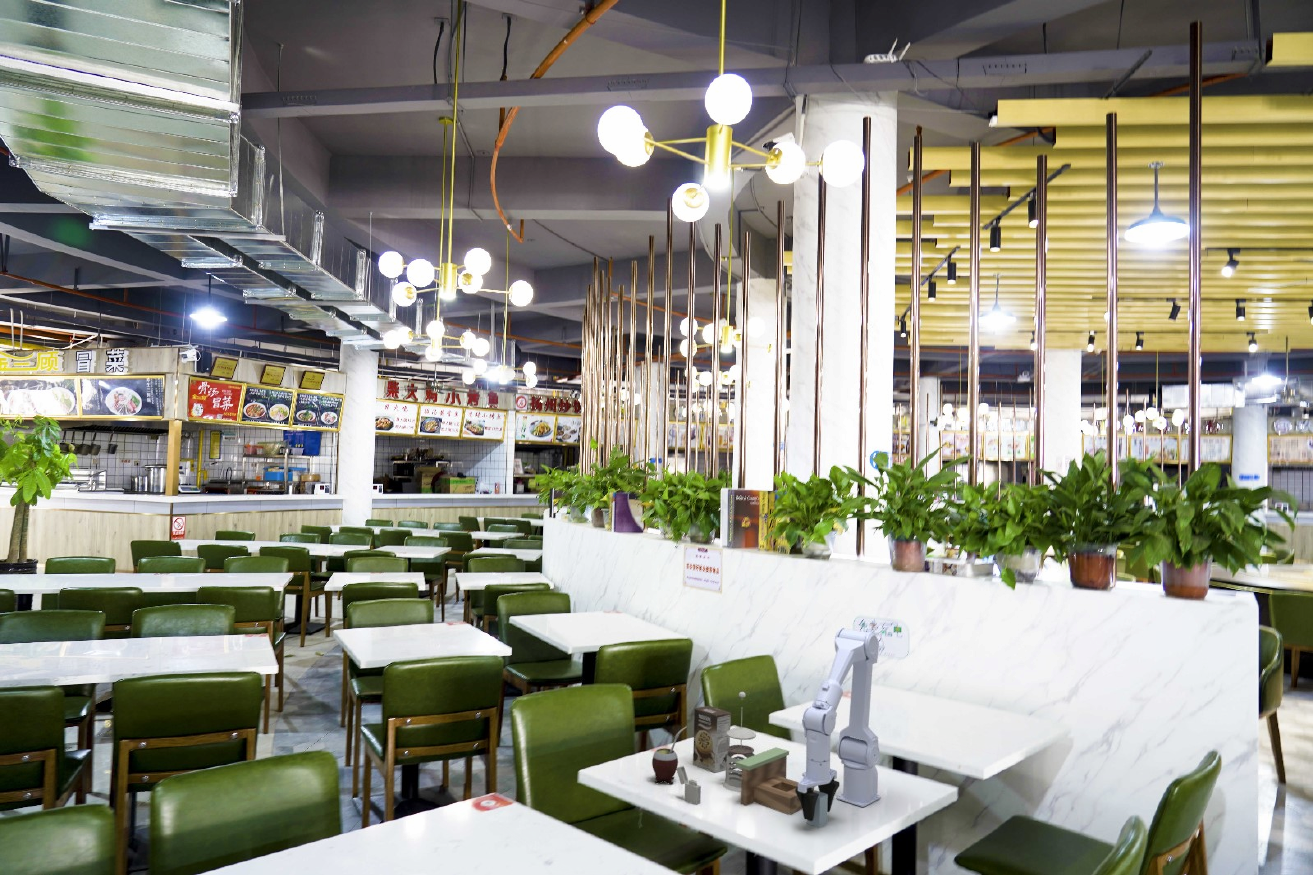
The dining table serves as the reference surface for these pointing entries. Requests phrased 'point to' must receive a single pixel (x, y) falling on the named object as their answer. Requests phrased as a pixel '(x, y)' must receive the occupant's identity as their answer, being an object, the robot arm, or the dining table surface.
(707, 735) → the coffee box
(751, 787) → the socket holder
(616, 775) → the dining table surface
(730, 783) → the french press
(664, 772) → the mate gourd
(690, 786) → the lighter
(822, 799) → the peg
